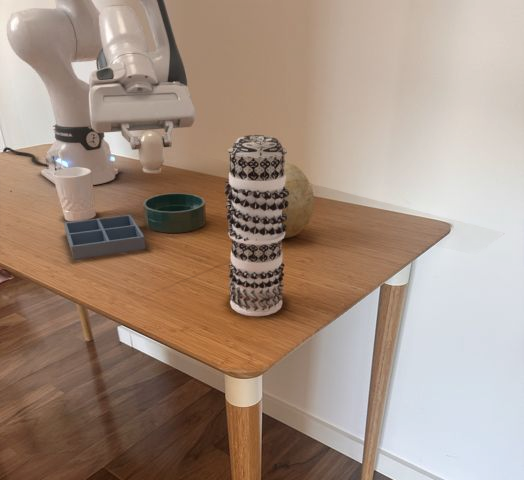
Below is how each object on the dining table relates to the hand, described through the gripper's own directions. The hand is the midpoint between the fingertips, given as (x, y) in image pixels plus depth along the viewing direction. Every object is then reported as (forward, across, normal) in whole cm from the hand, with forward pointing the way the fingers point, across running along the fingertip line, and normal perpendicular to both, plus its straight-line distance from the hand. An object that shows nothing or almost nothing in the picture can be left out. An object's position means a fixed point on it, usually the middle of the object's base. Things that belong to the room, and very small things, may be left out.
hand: (151, 146), depth 96 cm
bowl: (+10, -4, -14) cm, 18 cm away
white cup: (+1, +15, -23) cm, 28 cm away
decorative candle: (+38, -7, +14) cm, 41 cm away
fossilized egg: (+20, -23, -4) cm, 31 cm away
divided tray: (+14, +12, -11) cm, 21 cm away
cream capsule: (+3, 0, -4) cm, 5 cm away
